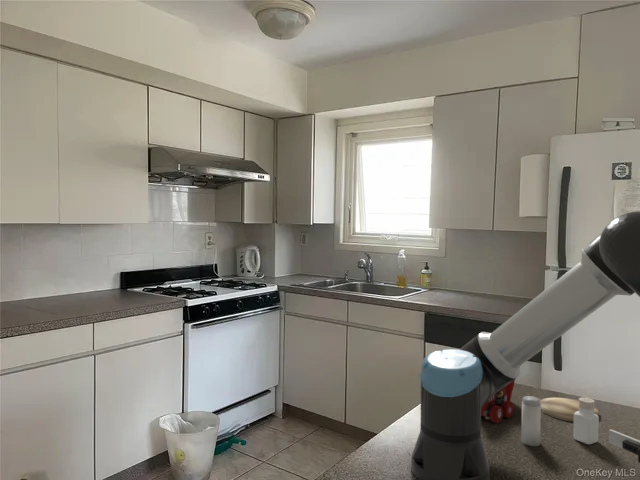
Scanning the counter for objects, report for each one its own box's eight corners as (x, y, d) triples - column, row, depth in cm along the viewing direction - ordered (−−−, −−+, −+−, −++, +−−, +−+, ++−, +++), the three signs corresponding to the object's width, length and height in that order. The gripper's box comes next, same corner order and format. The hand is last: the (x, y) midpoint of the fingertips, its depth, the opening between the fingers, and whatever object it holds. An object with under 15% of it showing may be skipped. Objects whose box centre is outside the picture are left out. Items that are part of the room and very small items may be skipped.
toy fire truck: (517, 414, 124) (518, 375, 124) (491, 427, 116) (492, 385, 116) (493, 406, 130) (493, 368, 129) (467, 418, 122) (467, 378, 121)
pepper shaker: (588, 446, 107) (589, 404, 106) (571, 439, 110) (572, 398, 110) (599, 442, 109) (600, 401, 108) (582, 435, 112) (583, 395, 112)
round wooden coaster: (599, 426, 117) (599, 422, 117) (536, 415, 123) (536, 411, 123) (597, 407, 129) (597, 403, 129) (541, 397, 136) (541, 393, 136)
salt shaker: (539, 447, 106) (540, 403, 105) (520, 443, 108) (520, 400, 107) (540, 440, 109) (541, 397, 109) (522, 436, 111) (522, 394, 111)
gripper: (718, 520, 76) (591, 460, 95) (790, 481, 87) (664, 435, 106) (719, 473, 76) (592, 423, 95) (792, 441, 87) (665, 401, 106)
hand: (630, 429), depth 100 cm, fingers open, 13 cm apart
